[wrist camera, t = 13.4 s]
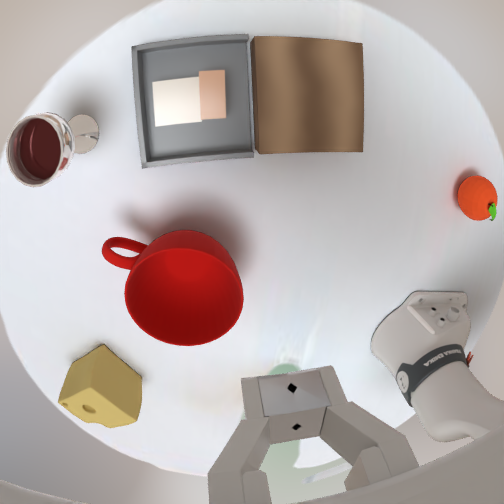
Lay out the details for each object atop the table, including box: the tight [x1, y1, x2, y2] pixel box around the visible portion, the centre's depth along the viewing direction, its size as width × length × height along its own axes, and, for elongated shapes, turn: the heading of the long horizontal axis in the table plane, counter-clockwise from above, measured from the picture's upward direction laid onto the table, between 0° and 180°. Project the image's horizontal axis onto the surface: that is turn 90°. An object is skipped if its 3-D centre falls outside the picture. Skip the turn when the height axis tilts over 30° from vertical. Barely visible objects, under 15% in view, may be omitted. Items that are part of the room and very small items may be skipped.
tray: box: [132, 34, 254, 168], centre depth 32 cm, size 12×14×3 cm
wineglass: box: [6, 112, 99, 187], centre depth 27 cm, size 7×7×12 cm
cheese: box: [58, 345, 142, 428], centre depth 46 cm, size 10×11×10 cm
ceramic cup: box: [102, 230, 244, 346], centre depth 37 cm, size 13×17×10 cm
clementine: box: [458, 176, 497, 221], centre depth 39 cm, size 8×7×7 cm
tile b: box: [199, 70, 226, 120], centre depth 30 cm, size 5×5×2 cm
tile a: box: [152, 77, 202, 127], centre depth 31 cm, size 5×5×2 cm
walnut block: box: [250, 36, 364, 154], centre depth 32 cm, size 12×13×4 cm
